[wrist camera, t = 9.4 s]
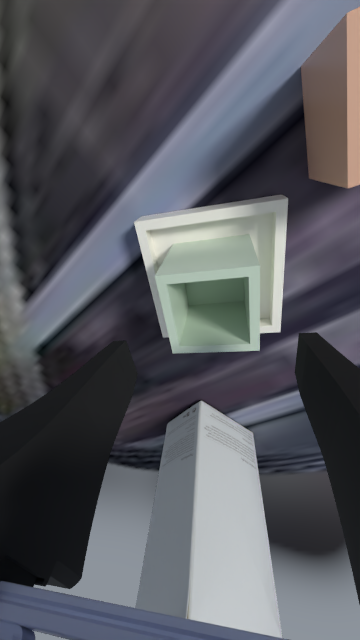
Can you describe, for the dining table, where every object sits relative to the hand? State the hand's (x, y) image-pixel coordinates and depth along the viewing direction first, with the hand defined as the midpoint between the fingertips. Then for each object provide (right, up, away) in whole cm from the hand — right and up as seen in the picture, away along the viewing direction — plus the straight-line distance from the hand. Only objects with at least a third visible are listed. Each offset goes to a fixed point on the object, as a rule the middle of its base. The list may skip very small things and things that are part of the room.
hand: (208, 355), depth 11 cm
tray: (+1, +5, +8) cm, 9 cm away
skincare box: (+2, -11, +18) cm, 21 cm away
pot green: (+1, +5, +7) cm, 9 cm away
